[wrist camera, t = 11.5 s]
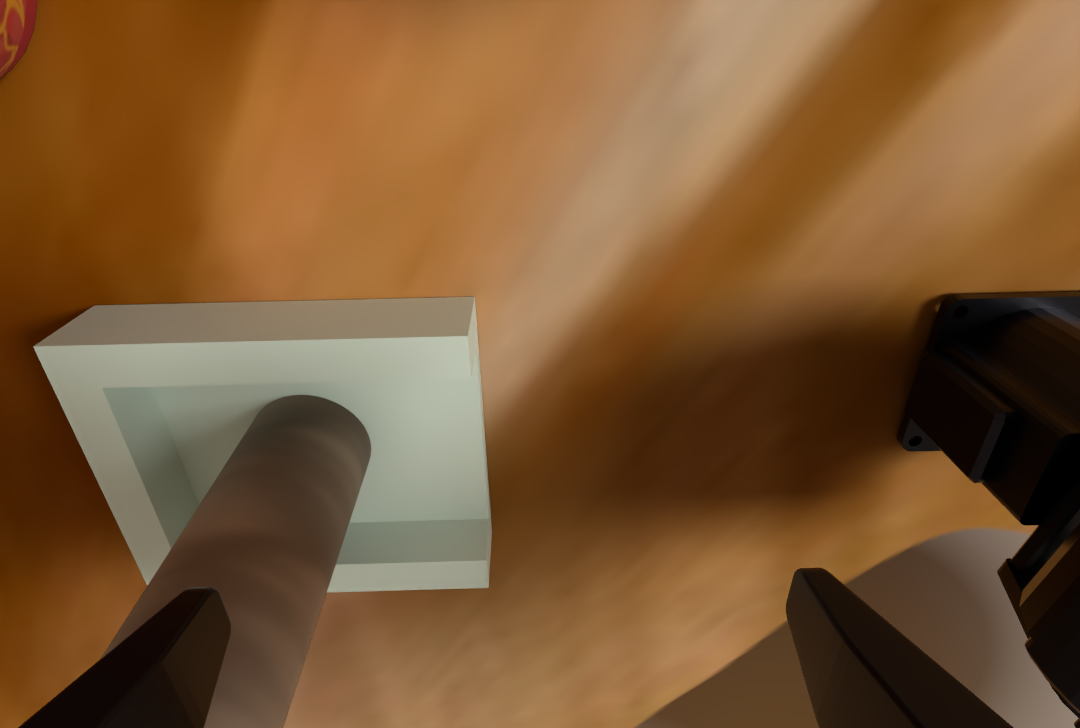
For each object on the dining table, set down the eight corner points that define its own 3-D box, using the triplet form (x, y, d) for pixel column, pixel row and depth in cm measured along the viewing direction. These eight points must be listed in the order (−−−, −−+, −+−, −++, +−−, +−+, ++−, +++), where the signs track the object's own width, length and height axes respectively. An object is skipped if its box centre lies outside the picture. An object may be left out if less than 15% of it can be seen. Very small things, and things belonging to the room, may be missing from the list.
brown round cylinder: (385, 417, 23) (256, 821, 11) (354, 501, 25) (218, 918, 13) (262, 379, 22) (-13, 780, 10) (241, 470, 24) (-10, 891, 12)
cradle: (474, 296, 21) (467, 336, 19) (492, 531, 27) (488, 587, 24) (94, 305, 21) (33, 346, 18) (189, 540, 26) (152, 597, 24)
